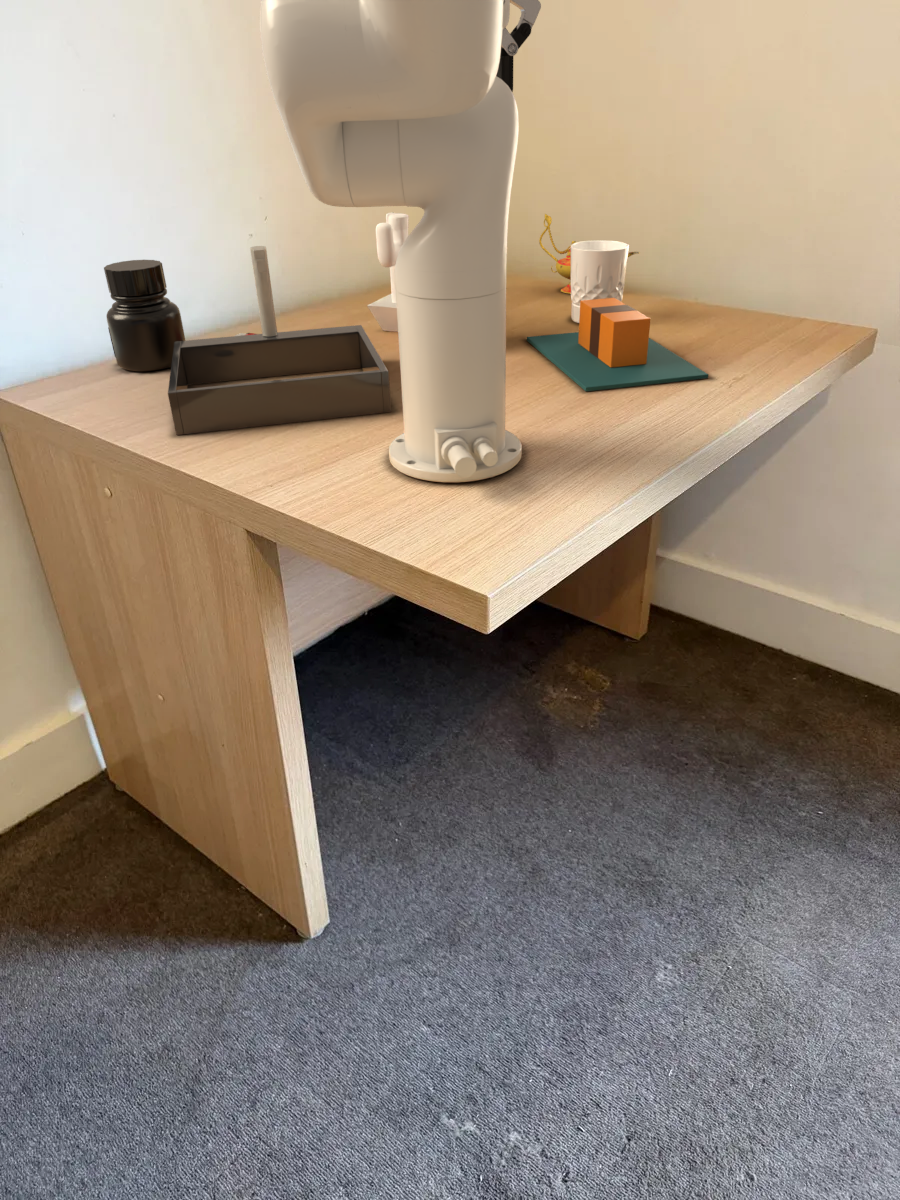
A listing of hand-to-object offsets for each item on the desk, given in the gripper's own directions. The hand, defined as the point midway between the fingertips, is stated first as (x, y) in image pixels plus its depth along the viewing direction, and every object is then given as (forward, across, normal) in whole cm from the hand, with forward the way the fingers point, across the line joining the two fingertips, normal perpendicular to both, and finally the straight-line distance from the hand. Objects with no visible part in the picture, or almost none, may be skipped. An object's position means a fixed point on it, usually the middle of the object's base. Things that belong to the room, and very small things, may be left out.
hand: (454, 104), depth 87 cm
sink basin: (+28, -21, +2) cm, 35 cm away
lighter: (+28, -22, +23) cm, 43 cm away
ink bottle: (+28, -36, +20) cm, 50 cm away
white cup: (+28, +25, +21) cm, 43 cm away
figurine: (+28, -2, +26) cm, 39 cm away
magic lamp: (+28, +30, +38) cm, 56 cm away
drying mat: (+28, +20, +3) cm, 35 cm away
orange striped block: (+28, +20, +3) cm, 34 cm away
